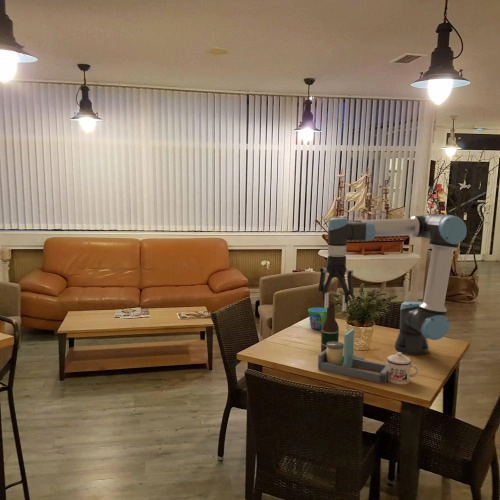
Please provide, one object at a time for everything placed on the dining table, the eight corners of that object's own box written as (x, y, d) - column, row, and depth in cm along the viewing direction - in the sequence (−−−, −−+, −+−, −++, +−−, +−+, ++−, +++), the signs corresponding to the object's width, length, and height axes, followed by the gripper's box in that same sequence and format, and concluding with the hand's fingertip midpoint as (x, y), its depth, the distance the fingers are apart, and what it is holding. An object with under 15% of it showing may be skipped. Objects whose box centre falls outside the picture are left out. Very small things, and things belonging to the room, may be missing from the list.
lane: (392, 373, 191) (393, 359, 190) (384, 383, 181) (385, 368, 180) (328, 359, 205) (329, 346, 204) (318, 368, 195) (318, 355, 194)
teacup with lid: (385, 383, 181) (386, 355, 180) (386, 375, 190) (387, 347, 188) (418, 388, 177) (419, 359, 176) (417, 379, 186) (419, 351, 184)
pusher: (366, 368, 195) (368, 331, 193) (359, 375, 187) (361, 337, 185) (350, 365, 198) (351, 328, 196) (343, 372, 191) (344, 334, 189)
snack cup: (304, 323, 260) (305, 306, 258) (322, 323, 261) (323, 305, 259) (311, 332, 244) (312, 313, 243) (331, 331, 245) (331, 313, 244)
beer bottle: (337, 356, 209) (339, 305, 206) (320, 355, 210) (321, 304, 207) (338, 351, 216) (339, 300, 213) (321, 349, 218) (322, 300, 215)
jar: (342, 364, 200) (343, 341, 199) (343, 370, 193) (343, 347, 192) (326, 362, 202) (326, 340, 200) (325, 369, 195) (326, 346, 193)
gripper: (363, 256, 189) (361, 310, 192) (317, 252, 200) (316, 304, 203) (357, 258, 183) (355, 314, 186) (310, 254, 193) (309, 307, 196)
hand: (335, 309), depth 194 cm, fingers open, 7 cm apart
